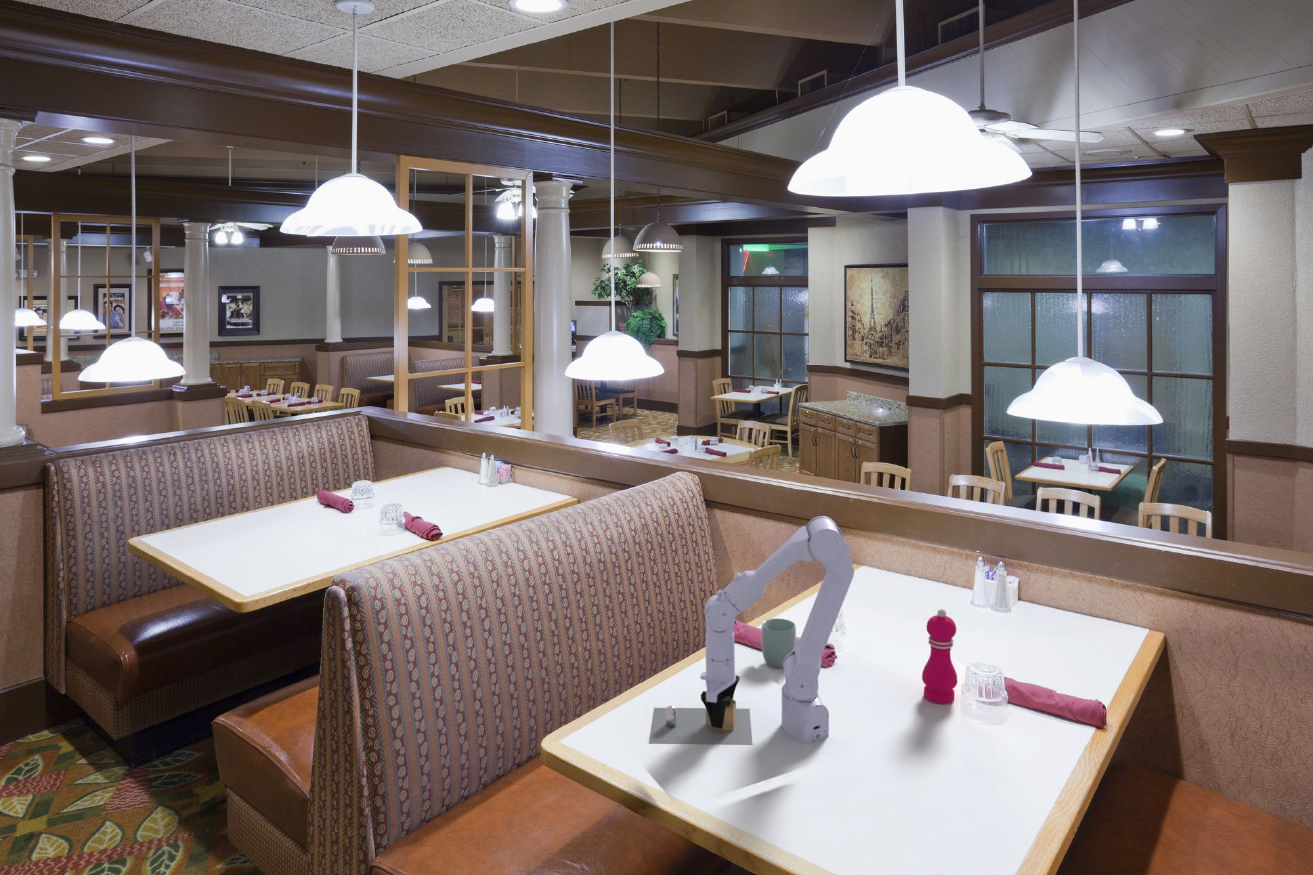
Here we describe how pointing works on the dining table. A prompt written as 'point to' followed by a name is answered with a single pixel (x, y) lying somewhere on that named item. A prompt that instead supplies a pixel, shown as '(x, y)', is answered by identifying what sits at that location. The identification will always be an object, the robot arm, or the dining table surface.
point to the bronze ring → (725, 718)
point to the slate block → (698, 728)
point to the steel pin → (671, 717)
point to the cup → (777, 641)
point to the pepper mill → (940, 660)
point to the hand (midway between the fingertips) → (721, 718)
